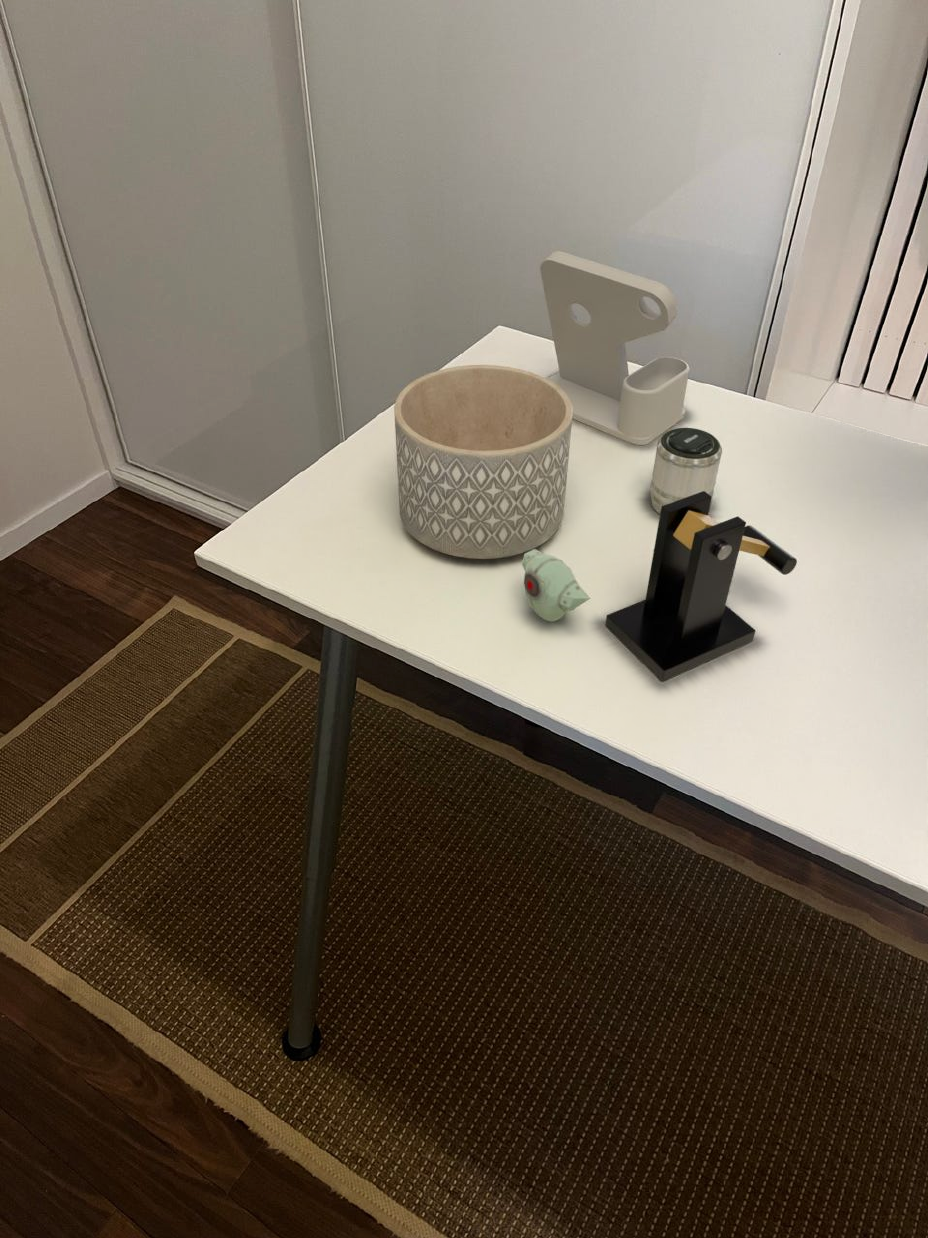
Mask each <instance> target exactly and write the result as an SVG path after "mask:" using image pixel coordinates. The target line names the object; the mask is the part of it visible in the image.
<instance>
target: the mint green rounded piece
mask: <svg viewBox="0 0 928 1238" xmlns="http://www.w3.org/2000/svg"><path fill="white" fill-rule="evenodd" d="M521 565H522V568H523V570H524V576H523V577H524V578H523V586H524V592H525V596H526V599H527V601H528V603H529V606H530V607H531V609H533V611H534V612H535V613H536V614H537V615H538V616H539V617H540V618H542V619H543V620H545V621H548V622H555V621H558V620H560V619H562V618H563V617H564V616H565V614H566V613H567V612H570V611H574V610H575V609H576V608H578V607H579V606H581V605H583V604H584V603H586V602H588V601H589V600H590V599H591V596H589V595H588V594H587V592H585V590H584V589H583V588H582V587H581V585H580V584H579V582H578V581H577V579H576V577H575V575H574V574H573V571H572V569H571V568H570V567H569V566H568V565H567V563H565V561H563V560H562V559H560V558H558V557H555V556H553V555H551V554H547V553H543V552H542V551H540V550H537V549H536V548H533V549H531V550H529V551H526V552H524V554H523V559H522V562H521Z"/></svg>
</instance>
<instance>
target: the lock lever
mask: <svg viewBox="0 0 928 1238" xmlns="http://www.w3.org/2000/svg"><path fill="white" fill-rule="evenodd" d="M719 523H720V522H718V521H716V519H714V518H712V517H711V516H710V515H709V514H708V515H704V514H701V513H697V512H693V511H690V510H689V511H688V512H687V513H686V515H685V517H684V518H683V520H682V521H681V523H680V525H679V526H678V528H677V530H676V531H675V533H674V534H673V536H674V537H675V538H677V539H678V540H679V541H680V542H681V543H683V544H684V545H685V546H686V547H688V548H689V549H690V550H691V548H692V543H693V539H694V534H695V532H698V531H700V530H703V529H706V528H708V527H711V526H714V525H716V524H719ZM739 552H744V553H747V554H751V555H756V556H757V557H759V558H761V559H762V560H763V561H765V562H766V563H767V564H768V565H770V566H771V567H772V568H774V569H775V570H776V571H778V572H779V573H780V574H781V575H784V576H785V575H786V576H787V575H789V574H790V573H792V572H793V571H794V569H795V568H796V566H797V564H798V560H797V558H795V557H794V556H793V555H791V554H790V553H789V552H787V551H786V550H785V549H784V548H782V547H781V546H779V545H778V544H777V543H775V541H773V540H771V539H770V538H769V537H767V536H766V535H765V534H763V532H761V531H759V530H758V529H757V528H755V527H754V526H753V525H745V529H744V533H743V537H742V541H741V545H740V549H739Z"/></svg>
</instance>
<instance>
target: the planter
mask: <svg viewBox="0 0 928 1238" xmlns="http://www.w3.org/2000/svg"><path fill="white" fill-rule="evenodd" d="M393 410H394V411H393V413H394V414H393V415H394V428H395V429H394V432H395V449H396V451H395V452H396V468H397V469H396V470H397V488H398V489H397V490H398V505H399V507H398V509H399V517H400V520H401V523H402V524H403V527H404V528H405V530H406V531H407V532H408V533H409V534H410V535H411V537H412V538H414V539H415V540H417V541H418V542H419V543H421V544H423V545H424V546H426V547H428V548H430V549H432V550H434V551H437V552H439V553H442V554H445V555H450V556H453V557H459V558H465V559H475V560H477V559H478V560H489V559H501V558H508V557H513V556H516V555H520V554H523V553H527V552H529V551H531V550H533V549H536V548H537V547H539V546H541V545H542V544H544V543H545V542H547V541H548V540H550V539H551V538H552V537H553V535H554V534H556V532H557V531H558V529H559V528H560V526H561V525H562V523H563V518H564V513H565V503H566V491H567V482H568V481H567V480H568V471H569V459H570V447H571V436H572V426H573V419H572V416H573V408H572V404H571V401H570V399H569V398H568V396H567V395H566V393H565V392H564V391H563V390H562V389H561V388H560V387H558V386H557V385H556V384H554V383H553V382H551V381H550V380H548V379H547V378H546V377H544V376H542V375H540V374H537V373H534V372H531V371H529V370H524V369H521V368H516V367H511V366H505V365H496V364H468V365H460V366H459V365H458V366H452V367H447V368H443V369H440V370H435V371H432V372H429V373H428V374H425V375H422V376H420V377H419V378H417V379H414V380H413V381H412V382H411V383H409V384H407V385H406V386H405V387H404V389H402V390H401V391H400V392H399V394H398V395H397V397H396V399H395V403H394V407H393Z"/></svg>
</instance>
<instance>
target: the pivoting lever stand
mask: <svg viewBox="0 0 928 1238" xmlns="http://www.w3.org/2000/svg"><path fill="white" fill-rule="evenodd" d="M712 498H713V496H710V495H709V494H708V493H706V492H705V491H702V492H699V493H697V494H694V495H691V496H688V497H686V498H683V499H680V500H677V501H675V502H672V503H669V504H666V505H664V506H662V507H661V512H660V514H659V519H658V525H657V531H656V537H655V542H654V549H653V553H652V554H653V555H652V560H651V564H650V571H649V577H648V581H647V582H648V583H647V587H646V594H645V599H643V600H641V601H638V602H635V603H633V604H631V605H628V606H626V607H623V608H620V609H618V610H615V611H613V612H611V613H609V614H606V618H605V627H606V628H607V629H608V630H609V631H610V632H611V633H612V634H613V635H614V636H615V637H616V638H617V639H618V640H619V641H620V642H621V643H622V644H623V645H624V646H625V647H626V648H627V649H628V650H629V651H630V652H631V653H632V654H633V655H634V656H635V657H637V659H639V661H641V663H642V664H643V665H644V666H645V667H646V668H648V670H649V671H651V672H652V673H653V674H654V675H655V676H656V677H657V678H658V679H659V680H660V681H661V682H662V683H663V682H666V681H667V680H670V679H672V678H674V677H676V676H678V675H681V674H683V673H685V672H687V671H689V670H692V669H695V668H696V667H698V666H701V665H703V664H705V663H707V662H709V661H712V660H714V659H716V658H719V657H721V656H723V655H725V654H727V653H730V652H731V651H734V650H736V649H739V648H740V647H743V646H746V645H748V644H749V643H752V642H753V641H754V638H755V634H756V629H755V628H754V627H752V625H750V624H749V623H748V622H747V621H745V620H744V619H743V618H742V617H741V616H740V615H739V614H737V613H736V612H735V611H734V610H733V609H731V608H730V607H729V606H728V605H727V601H728V597H729V593H730V589H731V586H732V581H733V577H734V573H735V569H736V566H737V565H736V564H737V561H738V557H739V553H740V551H739V549H740V545H741V541H742V537H743V533H744V529H745V527H746V526H747V522H746V521H745V520H744V519H742V518H741V517H740V516H734V517H732V518H730V519H727V520H724V521H721V522H718V523H719V524H716V525H714V526H711V527H708V528H706V529H703V530H700V531H698V532H695V534H694V539H693V543H692V548H691V550H690V549H689V548H688V547H686V546H685V545H684V544H683V543H681V542H680V541H679V540H678V539H677V538H675V537H674V536H673V534H674V533H675V531H676V530H677V528H678V526H679V525H680V523H681V521H682V520H683V518H684V517H685V515H686V513H687V512H688V511H689V510H690V511H693V512H697V513H701V514H704V515H708V516H709V512H710V509H711V504H712Z"/></svg>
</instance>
